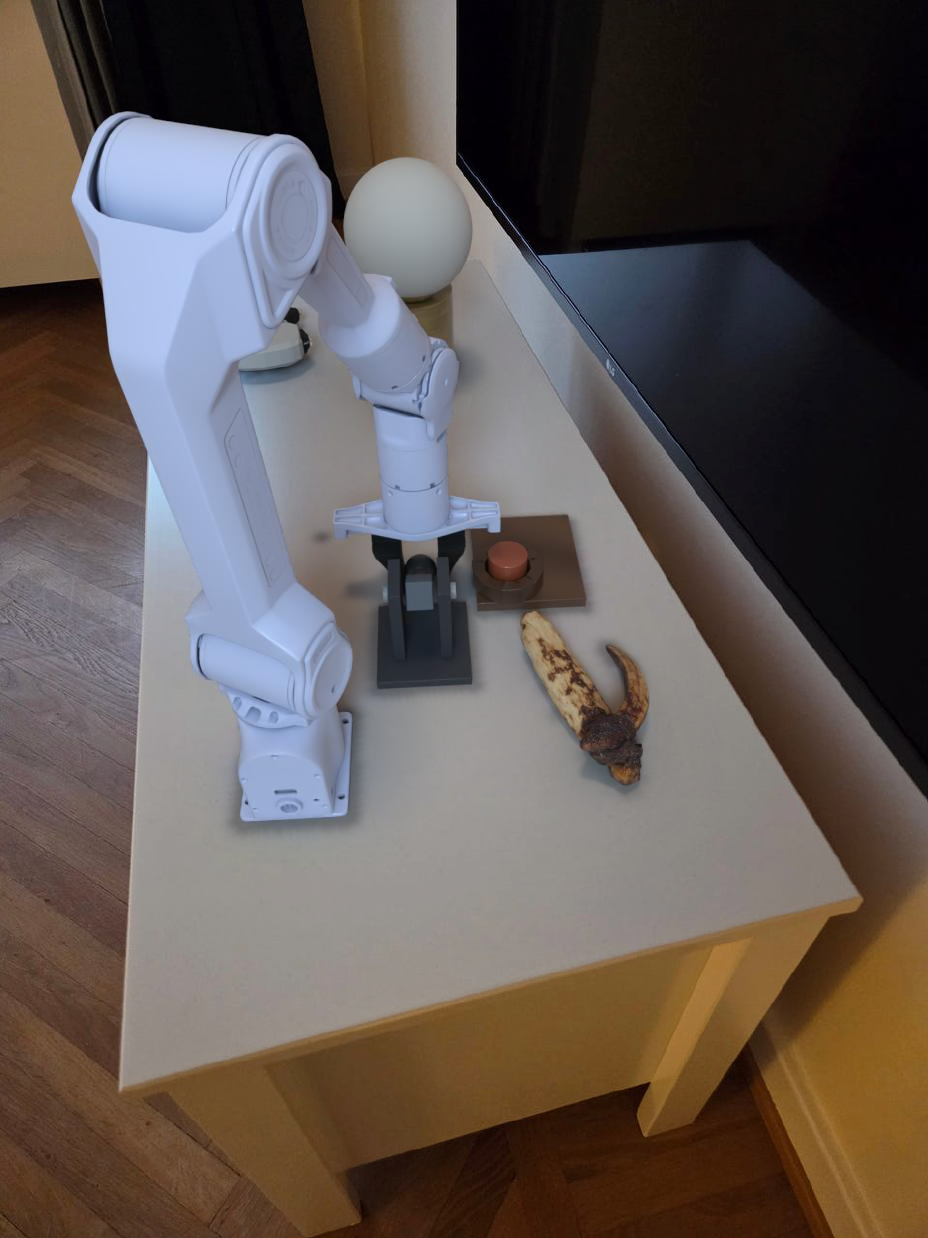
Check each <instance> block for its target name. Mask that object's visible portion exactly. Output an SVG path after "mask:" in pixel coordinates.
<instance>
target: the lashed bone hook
mask: <svg viewBox="0 0 928 1238" xmlns="http://www.w3.org/2000/svg"><path fill="white" fill-rule="evenodd" d="M520 628H521V630H522V631H521V634H520V639H521V642H522V644H523V648H524V650H525V651H526V653H527V655H528V657H529V659H530V660H531V662H532V668H533V670H534V672H535V673H536V674H537V676H538V678H539V679H540V681H541V682H542V684H543V685H544V687H545V690H546V692H547V694H548V696H549V698H550V699H551V702H552V703H553V705H554V706H555V707H556V708H557V709H558V711H559V712H558V713H559V714H560V716H561V717H562V718H563V720H565V721H566V724H567V726H568V727H569V728H570V729H571V730H572V732H573V733H574V734H575V735H576V737H577V738H578V739H579V748H580V749H581V751H586V752H588V754H589V755H590V757H591V758H592V759H593V760H594V761H595V762H596V763H597V764H598V765H600V766H607V767H608V769H609V772H610V778H612V779H613V780H615V781H616V782H618V783H619V784H620V785H621V786H631V785H633V784H635V783H637V782H639V781H641V768H642V757H643V754H644V748H643V743H636V742H635V740H634V739H635V738H636V737H637V735H638V733H637V732H638V731H639V730H640V728H641V726H642V725H643V724H644V722H645V720H646V717H647V715H648V711H649V709H650V691H649V687H648V683H647V680H646V678H645V675H644V673H643V671H642V670H641V668H640V666H638V664H637V663H635V661H634V660H633V659H632V658H631V657H630V656H628V655H627V654H626V653H624V652H623V651H621V650H619V649H617V648H616V647H614V646H611V645H605V649H606V652H607V653H608V655H609V656H610V658H611V659H612V660H613V662H614V663H615V664H616V665H617V667H619V669H620V671H621V673H622V675H623V679H624V685H625V698H624V701H623V702H622V704H621V705H620V706H619V708H618V709H617V711H615V713H613V712H612V709H611V708H610V707H609V706H608V705H607V703H606V701H605V700H604V697H603V696H602V694H601V693H600V692H599V690H598V689H597V687H596V685H595V684H594V683H593V681H592V680H591V678H590V676H589V675H588V674H587V673H586V671H585V670H584V669H583V667H582V666H581V664H580V663H579V661H578V660H577V659H576V658H575V657H574V655H573V654H572V653H571V651H570V649H569V648H568V646H567V644H566V642H565V641H564V639H563V637H562V636H561V635H560V634H559V632H558V631H557V630H556V629H555V628H554V626H553V625H552V623H551V622H550V621H549V620H548V619H546V618H545V617H544V616H543V613H541V612H540V611H537V610H530V611H527V612H524V613H523V614H522V616H521V618H520Z"/></svg>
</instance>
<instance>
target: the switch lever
mask: <svg viewBox="0 0 928 1238" xmlns="http://www.w3.org/2000/svg"><path fill="white" fill-rule="evenodd" d="M404 574H405V577H406V580H405V590H406V594H405V605H406V606H407V611H418V610H433V609H434V604H435V601H434V600H435V598H434V584H433V583H434V581H435V579H436V578H437V563H436V561H434V559H433V558H432V557H430V556H429V555H427V554H423V553H417V554H414V555H412V556H411V557H409V558H408V559H407V561H405V567H404Z"/></svg>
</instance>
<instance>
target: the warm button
mask: <svg viewBox="0 0 928 1238" xmlns="http://www.w3.org/2000/svg"><path fill="white" fill-rule="evenodd" d="M527 561H528V553H527V550H526V549H525V548H524V547H523V546H522V545H521V544H519V543H516V542H511V541H504V542H499V543H497V544H495V545H493V546H492V547H491V548H490V550H489V552H488V571H489V573H490V574H491V575H492V576H493V577H494V578H496V579H498V580H501V581H515V580H518V579H520V578H522V577H523V576H524V575H525V573H526V571H527Z"/></svg>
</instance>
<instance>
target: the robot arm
mask: <svg viewBox="0 0 928 1238" xmlns="http://www.w3.org/2000/svg"><path fill="white" fill-rule="evenodd" d="M71 203H72V206H73V208H74V211H75V214H76V216H77V219H78V221H79V224H80V227H81V229H82V231H83V234H84V238H85V239H86V243H87V244H88V247H89V250H90V252H91V255H92V258H93V261H94V264H95V266H96V269H97V271H98V274H99V277H100V278H101V284H102V293H103V304H104V313H105V314H104V315H105V324H106V333H107V345H108V351H109V355H110V359H111V363H112V366H113V370H114V373H115V376H116V377H117V380H118V382H119V385H120V388H121V390H122V392H123V395H124V397H125V400H126V402H127V404H128V407H129V409H130V412H131V414H132V417H133V419H134V422H135V424H136V427H137V430H138V432H139V434H140V437H141V439H142V441H143V444H144V447H145V449H146V453H147V454H148V456H149V459H150V461H151V464H152V466H153V469H154V471H155V474H156V476H157V478H158V482H159V484H160V487H161V489H162V492H163V494H164V496H165V499H166V501H167V504H168V506H169V508H170V510H171V514H172V516H173V519H174V521H175V524H176V526H177V528H178V531H179V532H180V536H181V538H182V540H183V541H182V542H183V543H184V545H185V548H186V550H187V553H188V555H189V558H190V560H191V563H192V566H193V568H194V570H195V573H196V576H197V578H198V581H199V583H200V585H201V588H202V589H201V590H200V591H199V592H198V594H197V595H196V596H195V597H194V599H193V601H192V602H191V603H190V606H189V607H188V609H187V611H186V612H185V615H184V617H183V621H184V623H185V625H186V626H187V631H188V632H189V633H188V634H189V661H190V665H191V668H192V670H193V672H194V673H195V674H196V675H197V676H198V677H199V678H201V679H203V680H208V681H212V682H216V684H217V686H218V689H219V692H220V694H222V695H224V696H225V697H226V698H227V699H228V701H229V703H230V705H231V708H232V711H233V714H234V716H235V720H236V724H237V726H238V730H239V731H238V732H239V735H240V749H239V750H240V752H239V757H238V765H237V777H238V781H239V783H240V786H241V789H242V798H241V803H240V812H239V817H240V819H241V821H243V822H246V823H247V822H264V821H265V822H266V821H281V820H283V821H284V820H285V821H286V820H300V819H302V820H303V819H319V818H321V819H322V818H335V817H336V818H337V817H344V816H346V815H347V814H348V812H349V802H350V801H349V800H350V781H351V780H350V779H351V778H350V777H351V759H352V737H353V732H352V731H353V715H352V713H351V712H350V711H339V710H338V705H337V703H338V702H339V701H340V699H341V697H342V696H343V694H344V692H345V690H346V688H347V685H348V683H349V681H350V678H351V674H352V669H353V662H354V654H353V648H352V644H351V639H350V638H349V635H348V634H347V633H346V632H345V631H344V630H341V628H340V627H339V625H338V624H337V619H336V616H335V613H334V612H333V610H331V608H329V607H328V606H327V605H326V604H325V603H323V602H322V601H321V600H320V599H319V598H317V597H316V596H315V595H314V594H313V593H311V592H310V591H309V590H307V589H306V588H305V587H304V586H303V585H302V584H301V583H300V582H299V581H297V577H296V574H295V570H294V567H293V563H292V560H291V559H292V558H291V555H290V553H289V548H288V545H287V541H286V538H285V534H284V531H283V527H282V523H281V521H280V520H281V519H280V516H279V512H278V509H277V505H276V500H275V498H274V495H273V491H272V487H271V483H270V479H269V476H268V472H267V469H266V465H265V462H264V458H263V454H262V451H261V447H260V444H259V440H258V439H259V438H258V437H257V432H256V429H255V425H254V422H253V418H252V415H251V411H250V407H249V403H248V400H247V399H248V398H247V395H246V392H245V388H244V385H243V381H242V378H241V374H240V370H238V365H239V361H240V360H241V359H244V358H246V357H249V356H251V355H254V354H256V353H258V352H261V351H263V350H266V349H267V348H268V346H269V345H270V343H271V341H272V339H273V338H274V336H275V334H276V332H277V330H278V329H279V327H280V325H281V323H282V322H283V320H284V318H285V316H286V314H287V313H288V311H289V309H290V307H292V305H293V304H294V302H295V300H296V298H297V296H298V297H299V298H300V299H301V300H303V301H304V302H305V303H306V304H307V305H308V306H310V307H311V309H313V310H314V311H315V312H316V313H317V314H318V317H317V325H318V326H317V327H318V331H319V335H320V337H321V340H322V342H323V343H324V345H325V346H326V347H327V348H328V349H329V350H330V352H332V353H333V354H334V356H336V357H337V358H338V359H339V360H340V361H341V362H342V363H343V364H344V365H345V366H346V367H347V370H348V371H349V372H350V374H351V380H352V388H353V389H352V390H353V392H354V395H355V397H356V399H358V400H362V401H365V402H368V403H370V404H372V408H371V409H372V416H373V426H374V434H375V436H374V437H375V444H376V455H377V463H378V472H379V482H380V483H379V484H380V493H381V498H380V499H376V500H373V501H369V502H365V503H361V504H357V505H353V506H348V507H343V508H334V509H333V513H332V529H333V533H334V535H333V536H334V539H335V540H336V541H340V540H341V541H342V540H347V539H348V538H349V535H363V534H369V535H370V538H371V552H372V555H373V557H374V560H376V561H378V563H380V565H382V566H383V568H384V569H385V570H386V571H387V572H388V560H394V559H400V566H401V577H402V587H403V595H406V590H405V580H406V577H405V574H404V567H405V564H406V562H405V558H404V552H403V543H402V542H403V541H405V542H411V543H412V542H413V543H418V542H419V543H420V542H426V541H430V540H433V539H434V540H435V539H437V557H448V560H449V576H450V575H451V573H452V572H453V569H454V568H455V566H456V565H457V563H458V561H460V559H461V558H462V557H463V556H464V552H465V550H466V546H467V545H466V543H467V541H466V530H470V529H476V528H488V532H491V533H493V532H500V523H501V518H502V517H501V516H502V515H501V507H500V502H499V501H484V500H479V499H478V500H477V499H472V498H466V497H462V496H461V497H459V496H455V495H450V492H449V491H450V489H449V486H450V485H449V458H448V456H449V454H448V427H449V426H450V425H451V423H452V419H453V415H454V397H455V393H456V390H457V389H456V388H457V385H458V379H459V374H460V360H458V358H457V355H456V352H455V350H454V351H453V350H452V349H450V348H449V347H448V345H447V343H446V342H445V341H444V340H442V339H438V338H433V337H429V336H428V335H427V334H426V332H425V331H424V330H423V328H422V327H421V325H420V324H419V323H418V319H417V318H416V317H415V315H414V314H412V313H411V311H410V310H409V309H408V307H407V306H406V304H405V303H404V302H403V300H402V299H401V298H400V296H399V295H398V293H397V292H396V290H397V285H396V283H395V282H394V280H393V279H392V278H391V277H388V276H383V275H378V274H367V273H362V272H361V271H360V269H359V267H358V266H357V264H356V262H355V261H354V259H353V257H352V256H351V254H350V252H349V251H348V249H347V247H346V243H345V241H343V239H342V237H341V236H340V234H339V232H338V230H337V229H336V228H335V227H336V226H334V224H333V222H332V221H333V220H332V219H333V193H332V182H331V180H330V178H329V177H328V176H327V175H326V174H325V173H324V172H323V171H322V170H321V169H320V166H319V164H318V162H317V160H316V158H315V156H314V154H313V153H312V151H311V149H310V148H309V147H308V146H307V145H306V144H305V142H303V141H302V140H300V139H299V138H298V137H295V136H293V135H290V134H282V133H281V134H280V133H273V134H270V135H269V136H268V135H261V134H254V133H247V132H241V131H234V130H228V129H220V128H216V127H215V128H214V127H208V126H201V125H196V124H195V125H194V124H187V123H181V122H175V121H167V120H162V119H155V118H153V117H152V116H151V115H148V114H143V113H139V112H136V111H122V112H117V113H115V114H113V115H110V116H109V117H107V118H106V119H105V120H104V121H103V122H102V123H101V124H100V125H99V126H98V127H97V129H96V131H95V132H94V133H93V135H92V137H91V140H90V142H89V144H88V147H87V151H86V153H85V156H84V160H83V162H82V165H81V168H80V171H79V174H78V177H77V180H76V183H75V186H74V189H73V191H72V195H71ZM437 557H436V558H437ZM437 586H438V584H437ZM341 797H343V798H342V799H340V798H341Z"/></svg>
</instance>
